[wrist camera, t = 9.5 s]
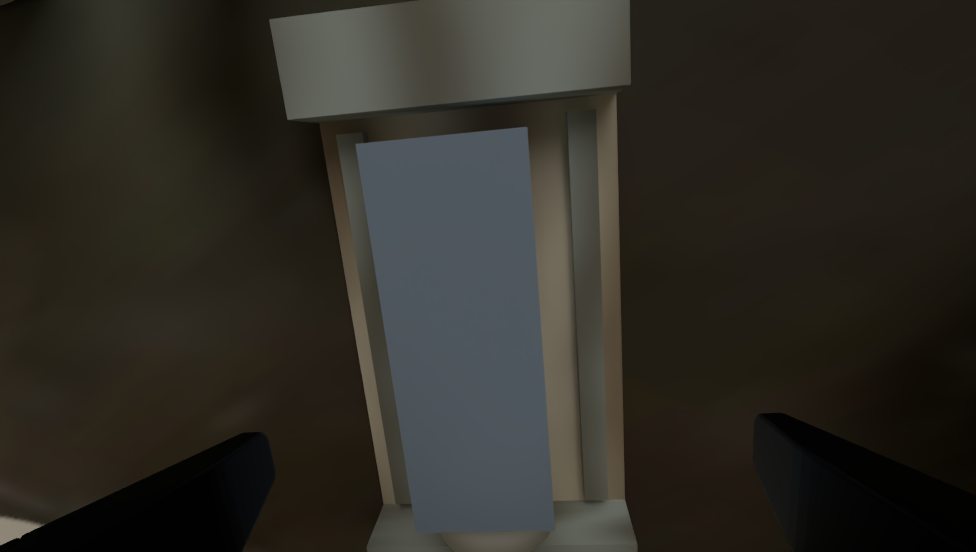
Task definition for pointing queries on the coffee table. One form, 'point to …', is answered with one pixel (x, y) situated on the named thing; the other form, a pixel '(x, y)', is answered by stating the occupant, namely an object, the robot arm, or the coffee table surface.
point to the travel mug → (5, 2)
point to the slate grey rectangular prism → (464, 332)
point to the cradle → (555, 196)
